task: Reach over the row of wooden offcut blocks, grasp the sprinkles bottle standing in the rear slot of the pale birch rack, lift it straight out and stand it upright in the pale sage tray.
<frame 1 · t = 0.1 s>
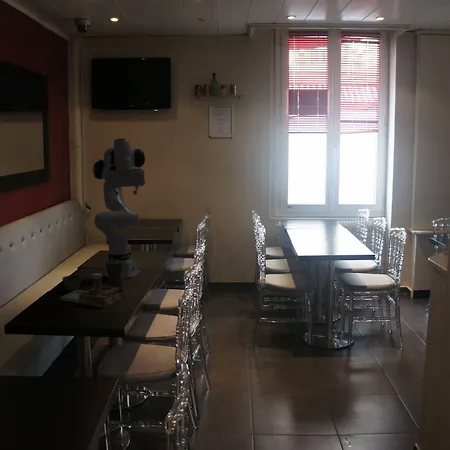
hand: (126, 194, 285), 52 cm above the table, tool tilted 20°, fingers open, 8 cm apart
flower pot: (72, 290, 299), on the table
tray: (77, 298, 284), on the table
offcut pine: (107, 302, 277), on the table
coffeepot: (114, 289, 301), on the table
sprinkles bottle: (98, 300, 281), resting in rack
offcut oak: (113, 299, 282), on the table
offcut grey: (102, 304, 273), on the table
rack: (102, 301, 279), on the table
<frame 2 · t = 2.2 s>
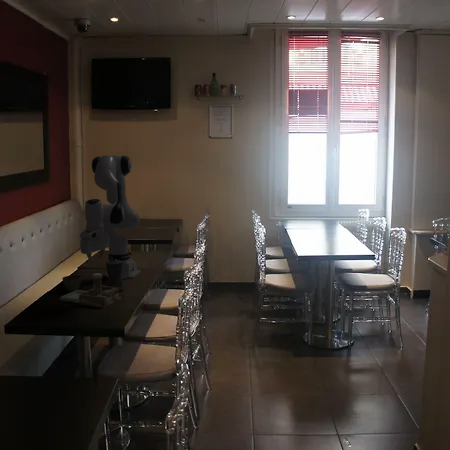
hand: (96, 259, 277), 21 cm above the table, tool pointing down, fingers open, 8 cm apart
nothing on the table moved.
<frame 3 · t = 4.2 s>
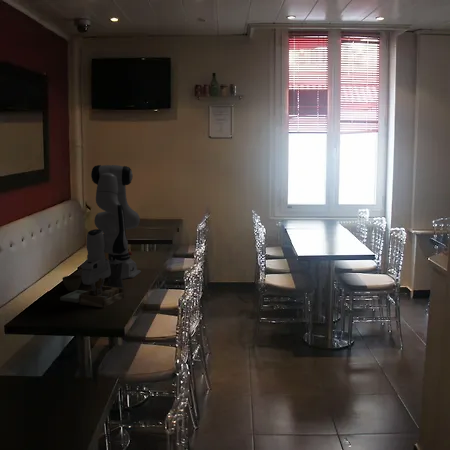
hand: (97, 289, 280), 6 cm above the table, tool pointing down, fingers closed on sprinkles bottle, 4 cm apart
sprinkles bottle: (98, 300, 281), resting in rack, touching gripper
everything else where it was.
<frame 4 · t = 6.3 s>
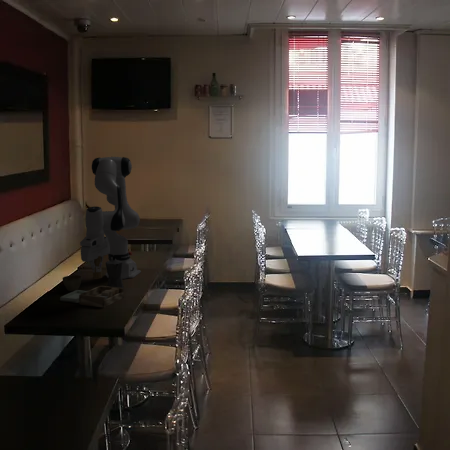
hand: (96, 266, 278), 17 cm above the table, tool pointing down, fingers closed on sprinkles bottle, 4 cm apart
sprinkles bottle: (97, 278, 279), point 11 cm above the table, touching gripper
everything else where it was.
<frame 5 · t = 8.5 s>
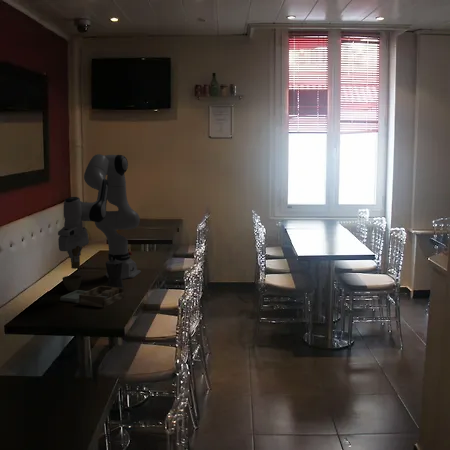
hand: (75, 256, 281), 22 cm above the table, tool pointing down, fingers closed on sprinkles bottle, 4 cm apart
sprinkles bottle: (75, 268, 282), point 16 cm above the table, touching gripper
everything else where it was.
when the fingers open (8 cm above the table, at t = 11.7 s): sprinkles bottle stays where it is, resting on tray.
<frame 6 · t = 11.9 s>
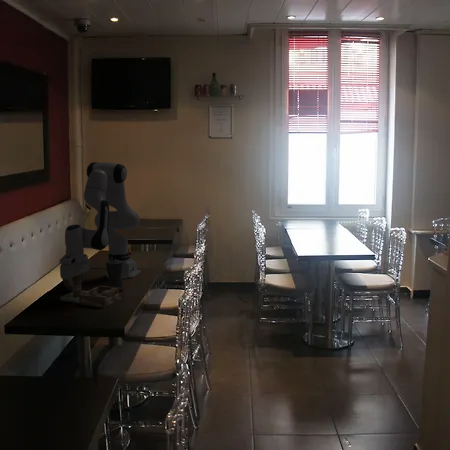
hand: (76, 283, 283), 8 cm above the table, tool pointing down, fingers open, 6 cm apart
sprinkles bottle: (77, 296, 284), point 1 cm above the table, touching tray
everything else where it was.
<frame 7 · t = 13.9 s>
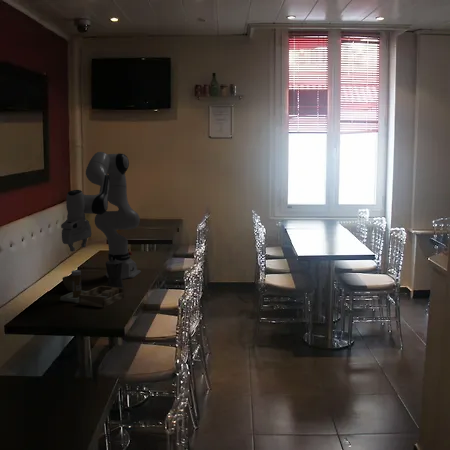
hand: (78, 249, 283), 25 cm above the table, tool pointing down, fingers open, 8 cm apart
nothing on the table moved.
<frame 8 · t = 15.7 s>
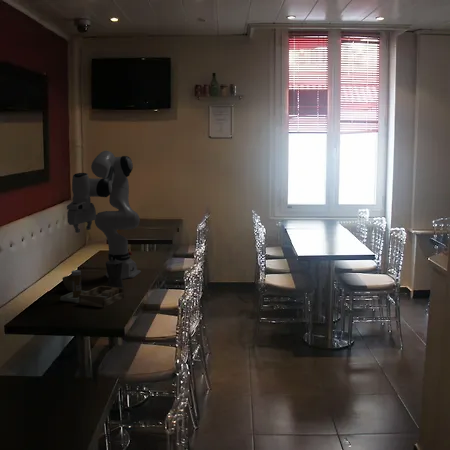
hand: (83, 231, 289), 33 cm above the table, tool pointing down, fingers open, 8 cm apart
nothing on the table moved.
at the end: sprinkles bottle inside the target area on the tray (0.2 cm from its centre), point 0.6 cm above the tray's base; sprinkles bottle tilted 0°; the gripper is holding nothing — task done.
